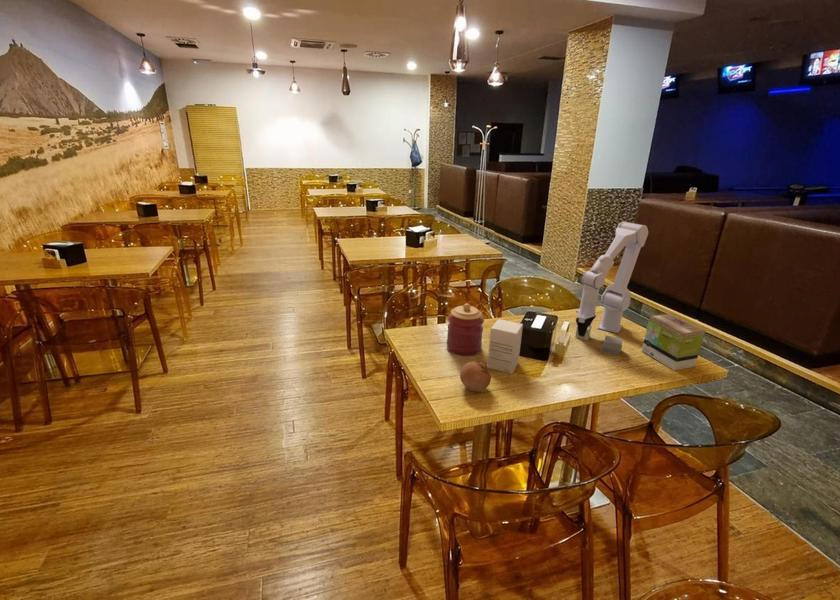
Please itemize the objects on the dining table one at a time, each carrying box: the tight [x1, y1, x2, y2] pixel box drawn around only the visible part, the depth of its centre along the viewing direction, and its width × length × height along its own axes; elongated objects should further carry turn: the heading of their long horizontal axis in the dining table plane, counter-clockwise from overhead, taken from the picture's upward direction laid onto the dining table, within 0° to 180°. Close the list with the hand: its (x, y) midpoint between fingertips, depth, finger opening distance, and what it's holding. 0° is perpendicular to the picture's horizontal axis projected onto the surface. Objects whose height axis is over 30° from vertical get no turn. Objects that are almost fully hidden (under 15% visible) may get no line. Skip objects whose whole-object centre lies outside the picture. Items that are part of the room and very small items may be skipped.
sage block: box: [574, 325, 592, 341], centre depth 168 cm, size 4×4×4 cm
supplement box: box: [486, 318, 524, 374], centre depth 143 cm, size 9×9×15 cm
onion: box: [459, 360, 492, 394], centre depth 130 cm, size 10×9×10 cm
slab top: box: [602, 334, 624, 352], centre depth 156 cm, size 6×6×2 cm
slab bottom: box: [600, 342, 623, 357], centre depth 158 cm, size 6×6×2 cm
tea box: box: [641, 313, 706, 371], centre depth 150 cm, size 15×10×15 cm, turn 18°
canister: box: [446, 303, 485, 356], centre depth 154 cm, size 13×13×18 cm
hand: (583, 333), depth 168 cm, fingers closed on sage block, 4 cm apart
